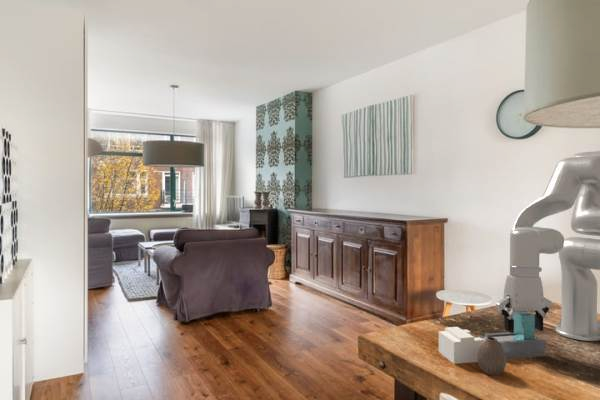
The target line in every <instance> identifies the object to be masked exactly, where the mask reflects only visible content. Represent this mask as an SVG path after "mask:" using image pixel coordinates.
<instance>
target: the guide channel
mask: <svg viewBox="0 0 600 400" xmlns="http://www.w3.org/2000/svg"><path fill="white" fill-rule="evenodd" d="M512 335H513V333H510V332H508V331H505V332H493V333H492V332H491V333H484V337H498V336H512ZM546 342H547V341H546V339H544V338H535V339H527V340H514V341H501V342H498V343H499V344H500V346H501V347H502V348H503V350H504V352H505V354H506V360H512V359H513V360H514V359H525V358H527V359H528V358H537V357H538V358H539V357H547V352H546V345H547V344H546Z"/></svg>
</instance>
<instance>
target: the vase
mask: <svg viewBox="0 0 600 400" xmlns="http://www.w3.org/2000/svg"><path fill="white" fill-rule="evenodd" d="M477 360H478V362H477V364H478V366H479V368H480V369H481V370H482V371H483V372H484V373H485V374H487V375H489V376H490V375H491V376H499V375H500V374H502V373H503V372H504V371H505V369H506V366H507V359H506V354H505V352H504V350H503V348H502V347H501V346H500V344H499V343H498V341H497V339H496V338H493V337H487V338H486V340H485V342H484V343H483V344H482V345H481V346H480V347H479V349H478V352H477Z"/></svg>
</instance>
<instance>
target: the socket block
mask: <svg viewBox="0 0 600 400" xmlns="http://www.w3.org/2000/svg"><path fill="white" fill-rule="evenodd" d="M471 333H472V332H471V331H470V330H469V329H462V328H460V327H458V326H449V327H444V330H440V331H438V353H439V354H441V355H442V356H443V357H445V358H446V359H447V360H448V361H449V362H450V363H452V364H453V365H455V364H457V365H458V364H459V365H460V364H468V363H470V364H471V363H478V360H477V352H478V349H479V347H480V346H481V345H482V344H483V343H484V340H483V337H481V336H480V337H475V336H473V335H472V334H471Z"/></svg>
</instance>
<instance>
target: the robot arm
mask: <svg viewBox="0 0 600 400" xmlns="http://www.w3.org/2000/svg"><path fill="white" fill-rule="evenodd" d="M572 207H573V210H572V214H571V215H572V216H571V220H570V227H571V229H572V231H573V232H574V233H575V234H580V235H583V236H584V235H586V236H593V237H594V236H595V237H600V150H599V151H598V150H597V151H584V152H578V153H574V154H572V155H571V156H570V157H565V158H563V159H560V160H559V162H557V163H556V165H555V168H554V170H553V172H552V174H551V176H550V179H549V181H548V183H547V186H546V187H545V190H544V192H543V194H542V196H541V197H538V198H537V199H536V200H535V201H533V202H532V203H530V204H528V205H527V206H526V207H525V208H524V209H522V211H521V212H520V213H519V214H518V215H517V217H516V219H515V222H514V223H513V226H512V229H511V230H510V231H511V232H510V234H509V275H507V276H506V279H505V284H504V289H503V290H504V291H503V298H501V300H499V301H498V302H496V304H495V306H496V307H497V309H498V312H499V313H500V314H501V315H502V317H504V319H503V320H504V321H503V324H504V325H503V326H504V330H505V332H510V333H514V319H513V316H514V315H515V313H516V312H528V313H529V312H533V313H534V314H533V315H535V329H536V330H538V331H540V332H543V331H544V318H546V316H547V313H548V312H549V310H550V307H551V306H552V303H553V302H552V300H550V299H548V298H546V297H544V289H543V288H544V287H543V282H542V278H541V276H540V273H541V272H542V271H543V270H542V267H541V266H540V255H541V254H545V255H554V254H557V253H558V258H559V262H560V267H561V268H560V270H561V302H560V303H561V308H560V310H561V319H560V320H561V321H560V323H561V324H558V325H556V326H555V332H556V333H558V334H559V335H560V336H562V337H565V338H569V339H573V340H579V341H583V342H584V341H585V342H598V341H600V321H598V281H597V278H596V276H595V274H594V272H593V271H592V270H597V271H600V239H598V238H591V237H589V238H588V237H579V236H573V237H572V236H571V237H567V238H564V235H563V234H562V233H561V232H560V231H559V230H557V229H555V228H549V227H539V226H538V227H537V226H535V225H536V224H537V223H538V222H539V221H541V220H543V219H546V218H547V217H550V216H553V215H556V214H559V213H562V212H565V211H568V210H570V209H571V208H572Z"/></svg>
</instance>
